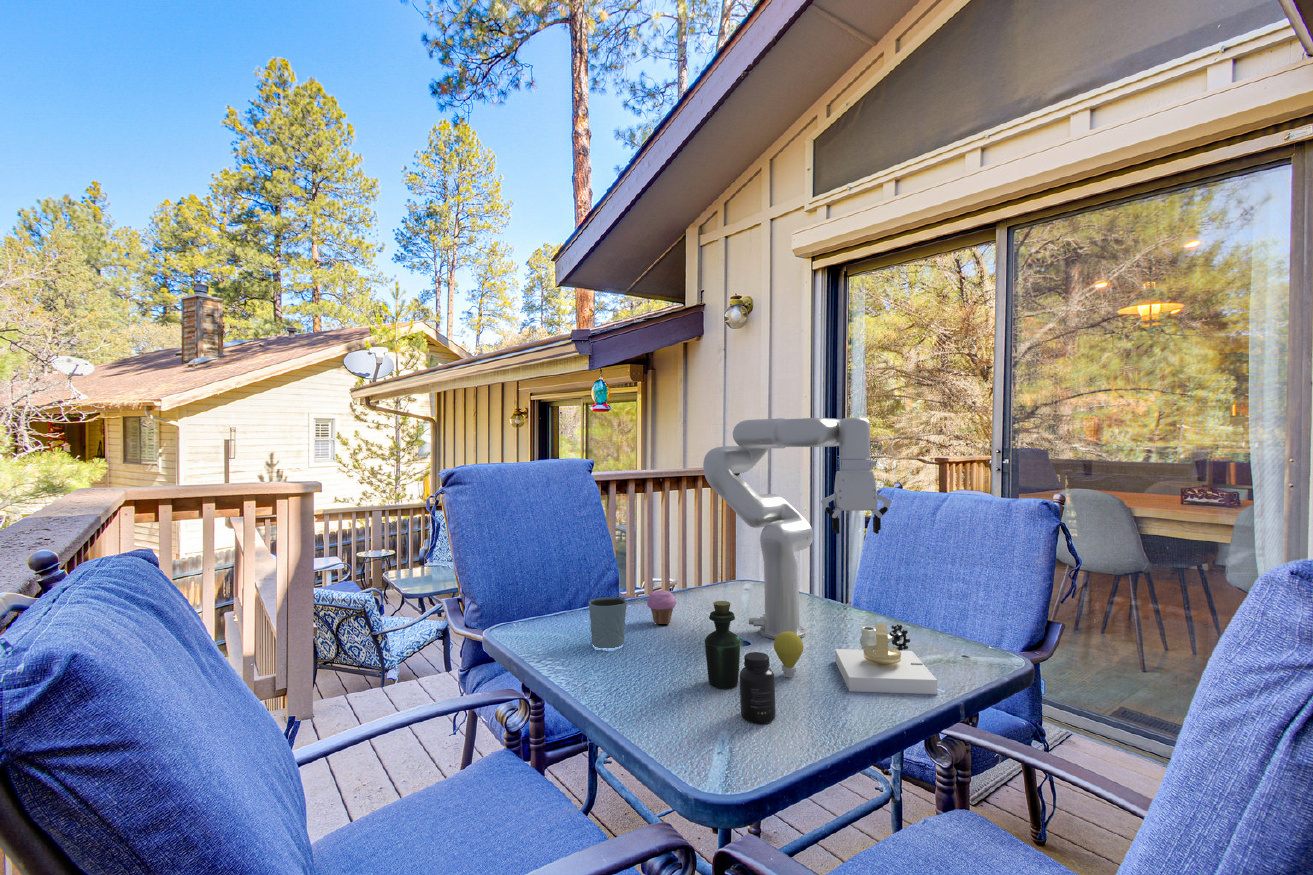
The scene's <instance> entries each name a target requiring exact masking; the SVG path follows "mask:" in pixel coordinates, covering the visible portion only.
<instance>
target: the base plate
mask: <svg viewBox="0 0 1313 875" xmlns="http://www.w3.org/2000/svg"><path fill="white" fill-rule="evenodd" d="M899 651H900V652H901V661H900V662H898V663H895V664H878V663H875V662H872V661H869V660H867V659H865V658H864V650H862V649H856V648H854V649H852V648H851V649H850V648H849V649H848V648H847V649H846V648H834V653H835V655H834V658H835V659H834V660H835V661H834V662H835V663H836V666H837V667H838V670H839V672H840V675H841V676H842V679H843V681H844V683H845V685H846V686H847V689H848V691H849V692H856V693H858V692H859V693H860V692H862V693H863V692H864V693H865V692H866V693H886V694H889V693H891V694H915V695H916V694H917V695H918V694H923V695H938V679H937V678H936V677H935V676H934V675H933V673H932V672H931V671H930V670H929V669H928V667H927V666H926V665H925V664H924V663H923V662H922V661H921V659H920V658H918V656H917V655H916V654H915V652H914V651H912V650H899Z"/></svg>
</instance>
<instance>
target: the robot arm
mask: <svg viewBox="0 0 1313 875" xmlns="http://www.w3.org/2000/svg"><path fill="white" fill-rule="evenodd" d="M870 424H871V423H870V421H869V419H868V418H866V417H845V418H842V419H841V418H839V419H838V418H831V417H830V418H828V417H825V418H824V417H806V418H805V417H804V418H781V417H779V418H760V419H759V418H757V419H745V420H742V421H740V422H737V424H736V425H735V426H734V428H733V430H732V438H733V441H734V442H735V443H736V445H730V446H729V445H727V446H726V445H724V446H716V447H714V448H711V449H710V450H709V451H707V453H706V454H705V456H704V457H703V458H704V459H703V466H702V467H703V473H704V477H705V480H706V481H707V483H708V485H709V486H710V487H711V489H712V490H713V491H714V492H716V493H717V495H718V496H720V498H722V500H724V501H725V503H726V504H727V505H728V506H729V507H730V508H731V509H732V510H733V511H734V512H735V513H736V514H737V516H738V517H739V518H740V519H741V520H742V521H743V522H744V523H745V524H747V526H749V527H750V528H752V529H753V528H755V529H758V528H762V530H761V532H760V537H759V542H760V548H761V549H760V550H761V553H762V560H763V579H764V580H763V581H764V582H763V583H764V585H763V586H764V613H763V614H762V615H763V616H759V617H748V625H753V627H759V633H760V634H761V635H762V636H764V637H766V638H769V639H772V640H775V639H776V637H777V636H778V635H779V634H780V633H782V632H785V631H790V632H793V633H795V634H797V635H798V636H799V637H800V638H801V639H802V638H803V637H804V636H806V628H804V627H803V626H801V625H800V623H801V622H800V591H799V590H800V588H799V587H800V582H799V580H800V579H799V566H798V562H797V559H796V556H795V554H794V553H796V552H800V551H803V550H805V549H807V548H808V547H810V546H811V545H812V543H813V541H814V531H813V528H812V526H811V524H810V522H808V521H807V520H806V518H805V517H804V516H802V514H801V513H799V512H798V510H796V508H794V506H792V505H791V503H789V502H788V501H787V500H786V499H785V498H783V497H782V496H780V495H778V494H775V493H763V494H762V493H758V492H757V491H756V490H755V489H754V488H752V486H750V485H749V484H748V482H746V481H745V480H744V479H742V478H741V477H739V476H738V475H736V474H742V473H743V474H744V473H746V472H749V471H751V470H752V469H753V468H754V466H756V464H757V463H758V462H759V461H760V460H761V459H762V458H763V457H764V456H765V455H766V453H767V452H768V451H769V450H770V449H785V448H821V447H823V448H825V447H826V448H827V447H829V448H830V447H838V448H839V449H838V450H839V451H838V452H839V457H838V458H839V470H837V471H836V472H835V480H834V492H833V494H831V495H829V496H827V497H824V498H823V499H821V500H820V503H821V505H822V507H823V509H824V510H825V512H826V513H827V514H828V515H829V516H830V517H831V522H832V523H831V526H832V527H831V530H832V531H834V533H835V534H837V535H838V534H840V518H839V515H840V514H841V513H842V511H844V512H845V511H848V512H849V511H852V512H853V511H855V512H856V511H857V512H859V511H860V512H861V511H862V512H863V511H864V512H865V511H866V512H867V511H871V513H872V514H873V517H872V532H873V533H874V534H876V535H879V533H880V531H881V529H882V523H881V521H882V520H881V519H882V518H883V516H884V515H886V513H887V512H888V511H889V508H890V505H891V504H892V500H891V499H889V498H887V497H885V496H883V495H881V494H878V491H877V484H876V477H875V473H874V471H873V470H872V468H873V467H877V461H876V460H875V461H874V460H872V459H871V430H870V428H871V426H870ZM871 470H872V471H871ZM878 500H879V501H881V503H883V505H882V506H881V508H879V509H878ZM832 501H833V504H834V507H835V508H834V509H831V508H830V506H829V503H831V502H832Z"/></svg>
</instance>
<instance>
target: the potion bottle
mask: <svg viewBox="0 0 1313 875" xmlns="http://www.w3.org/2000/svg"><path fill="white" fill-rule="evenodd" d="M712 604H713V607H714V610H713V611H711V612H710V613H709V616H708V619H709V620H710V621H713V624H714V628H715V630H714V631H712V632H710V633H709V634H707V635H706V637H705V639H704V641H703V642H704V650H705V658H706V659H705V661H706V670H707V680H708V684H709V685H710V686H711V687H712V688H716V689H720V690H728V689H734V688H735V687H737V685H738V683H739V678H740V661H741V646H742V642H741V639H740V637H739V636H738V635H737V634H736V633H734V632H732V631H731V630H730V626H731V622H733V621H735V620H736V615H735V614H734V612H733V611H730V608H731V602H730V601H726V600H716V601H713V603H712Z"/></svg>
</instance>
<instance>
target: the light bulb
mask: <svg viewBox="0 0 1313 875" xmlns="http://www.w3.org/2000/svg"><path fill="white" fill-rule="evenodd" d="M773 649H774V652H775V653H776V655H777V657H778V660H780V662H781V663H782V665H781V671H782V672H783V676H784V677H786V678H794V677H795V673H796V672H797V666H796V664H797V663H798V661H799V660H800V658H801V656H802V654H803V651H804V642H803V640H802V637H801V638H800V637H799V636H798V635H797V634H795V633H793V632H790V631H785V632H782V633H780V634H779V635H778V636H777V637H776V639H774V641H773Z"/></svg>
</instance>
